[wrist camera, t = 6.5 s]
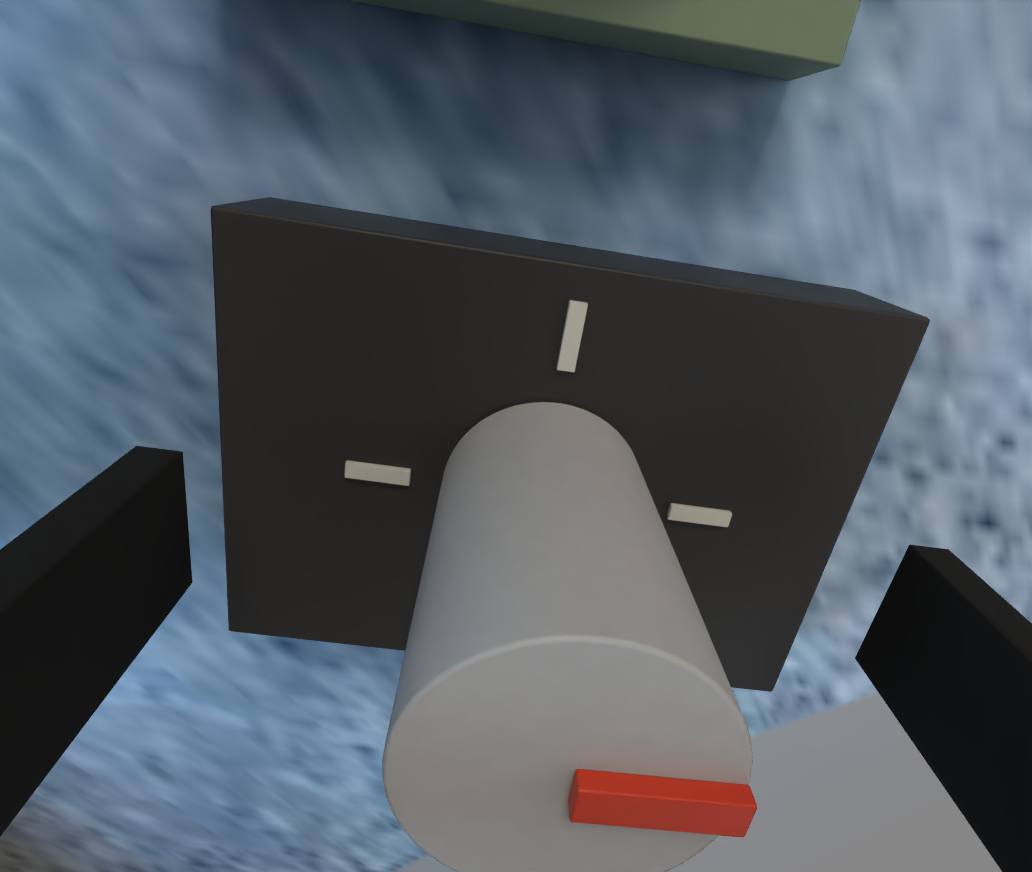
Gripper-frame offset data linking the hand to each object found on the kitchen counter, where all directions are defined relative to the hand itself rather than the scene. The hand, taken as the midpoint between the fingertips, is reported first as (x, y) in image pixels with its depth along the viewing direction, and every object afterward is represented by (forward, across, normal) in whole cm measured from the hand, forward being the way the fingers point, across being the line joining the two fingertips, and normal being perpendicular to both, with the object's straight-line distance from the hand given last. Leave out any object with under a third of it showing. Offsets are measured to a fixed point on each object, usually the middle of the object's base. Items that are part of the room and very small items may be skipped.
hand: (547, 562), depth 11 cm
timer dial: (+3, 0, 0) cm, 3 cm away
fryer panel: (+6, 0, 0) cm, 6 cm away
